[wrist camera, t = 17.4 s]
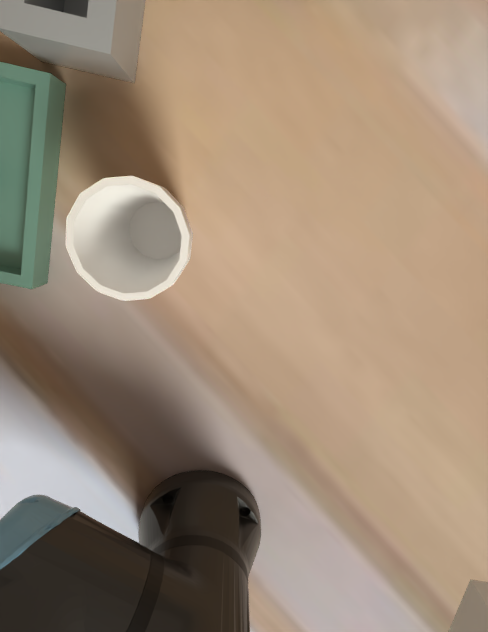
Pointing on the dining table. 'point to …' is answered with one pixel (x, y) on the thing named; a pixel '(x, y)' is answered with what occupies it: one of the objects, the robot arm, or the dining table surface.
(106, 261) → the foam cup
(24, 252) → the tray
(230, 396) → the dining table surface
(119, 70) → the grey hollow square block
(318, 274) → the dining table surface
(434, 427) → the dining table surface
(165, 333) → the dining table surface
